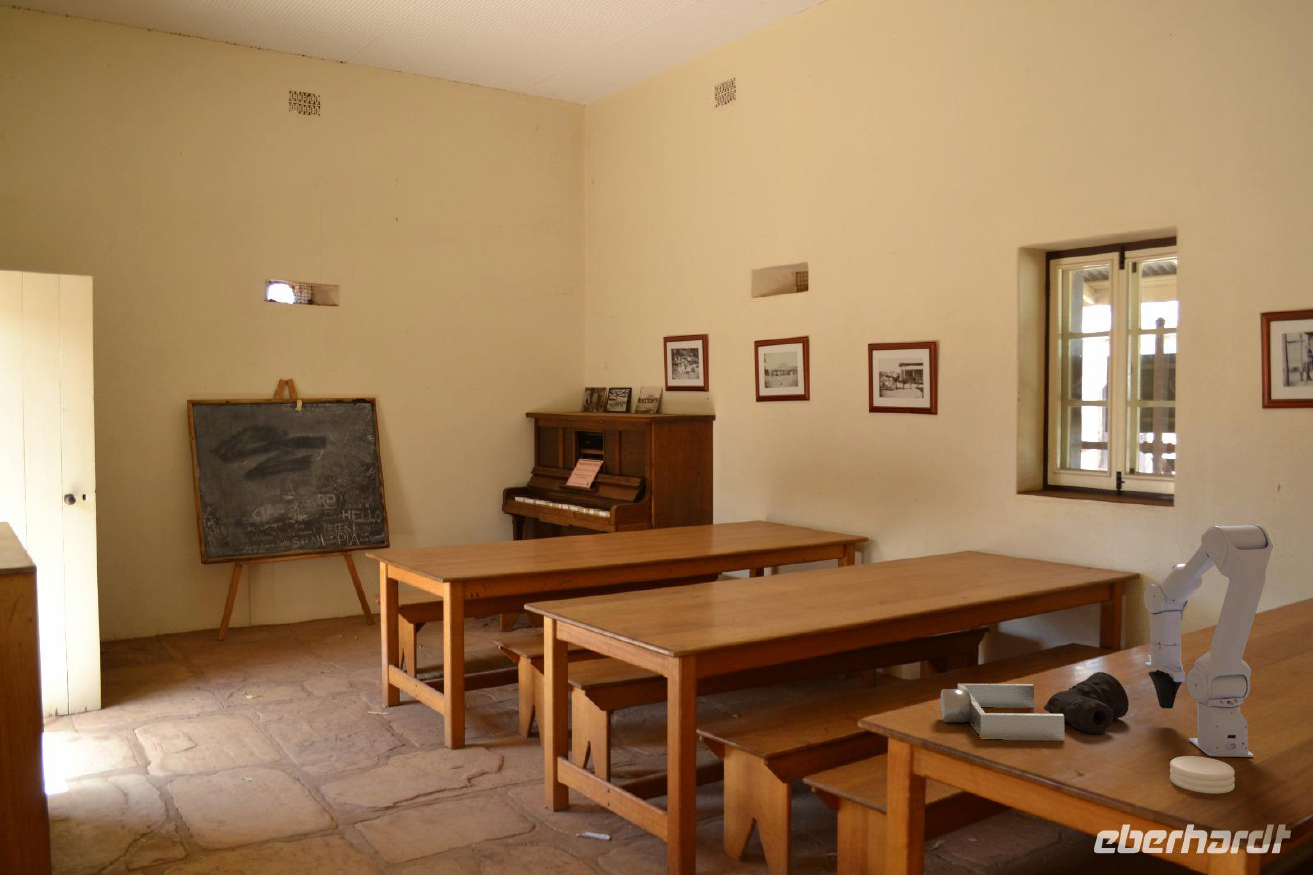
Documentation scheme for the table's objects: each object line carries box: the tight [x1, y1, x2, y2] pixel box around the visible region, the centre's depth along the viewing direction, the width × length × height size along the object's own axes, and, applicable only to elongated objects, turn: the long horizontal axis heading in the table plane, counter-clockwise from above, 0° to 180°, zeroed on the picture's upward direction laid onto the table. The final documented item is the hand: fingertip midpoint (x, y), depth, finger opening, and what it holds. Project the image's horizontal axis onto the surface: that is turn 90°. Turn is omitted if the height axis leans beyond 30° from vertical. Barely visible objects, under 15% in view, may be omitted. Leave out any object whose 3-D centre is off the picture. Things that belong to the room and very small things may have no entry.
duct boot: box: [940, 683, 1065, 742], centre depth 214 cm, size 23×21×7 cm
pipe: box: [1043, 671, 1130, 735], centre depth 212 cm, size 10×15×15 cm
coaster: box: [1169, 755, 1236, 795], centre depth 177 cm, size 10×10×4 cm
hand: (1166, 707), depth 210 cm, fingers closed
